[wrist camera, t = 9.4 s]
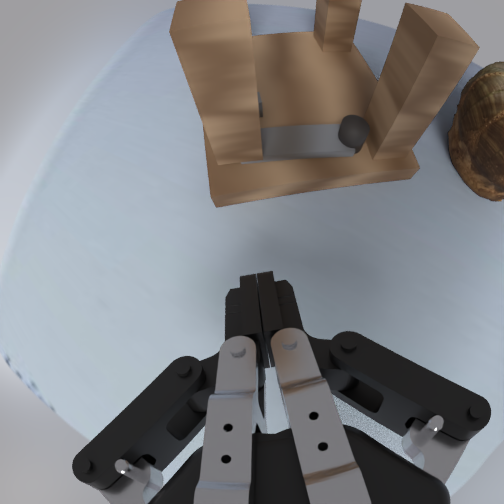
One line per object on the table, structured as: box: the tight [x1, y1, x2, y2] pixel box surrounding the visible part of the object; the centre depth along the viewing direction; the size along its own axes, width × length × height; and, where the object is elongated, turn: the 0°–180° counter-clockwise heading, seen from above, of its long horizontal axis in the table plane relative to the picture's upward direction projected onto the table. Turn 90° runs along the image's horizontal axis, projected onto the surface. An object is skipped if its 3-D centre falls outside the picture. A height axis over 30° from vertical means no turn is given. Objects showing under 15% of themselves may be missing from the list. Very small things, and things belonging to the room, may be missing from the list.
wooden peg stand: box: [203, 0, 479, 208], centre depth 16 cm, size 16×18×14 cm
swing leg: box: [169, 0, 370, 165], centre depth 14 cm, size 10×3×12 cm, turn 95°
